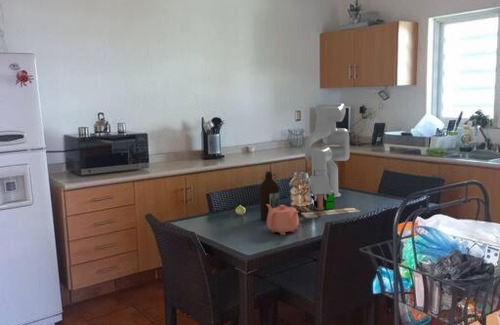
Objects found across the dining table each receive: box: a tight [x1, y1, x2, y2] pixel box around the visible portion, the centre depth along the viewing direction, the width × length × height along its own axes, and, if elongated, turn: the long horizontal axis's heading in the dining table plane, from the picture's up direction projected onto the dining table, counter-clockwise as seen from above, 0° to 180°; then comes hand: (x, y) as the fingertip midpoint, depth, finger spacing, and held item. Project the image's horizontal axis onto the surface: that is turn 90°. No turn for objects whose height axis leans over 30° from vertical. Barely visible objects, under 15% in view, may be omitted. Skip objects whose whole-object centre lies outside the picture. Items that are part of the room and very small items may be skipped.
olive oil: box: [258, 170, 281, 222], centre depth 236 cm, size 11×11×25 cm
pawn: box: [315, 194, 324, 211], centre depth 241 cm, size 4×4×9 cm
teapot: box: [266, 204, 300, 236], centre depth 214 cm, size 15×17×13 cm
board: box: [300, 207, 360, 219], centre depth 243 cm, size 8×30×1 cm, turn 103°
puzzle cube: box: [314, 191, 335, 210], centre depth 254 cm, size 10×10×10 cm
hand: (319, 206), depth 241 cm, fingers closed on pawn, 3 cm apart
